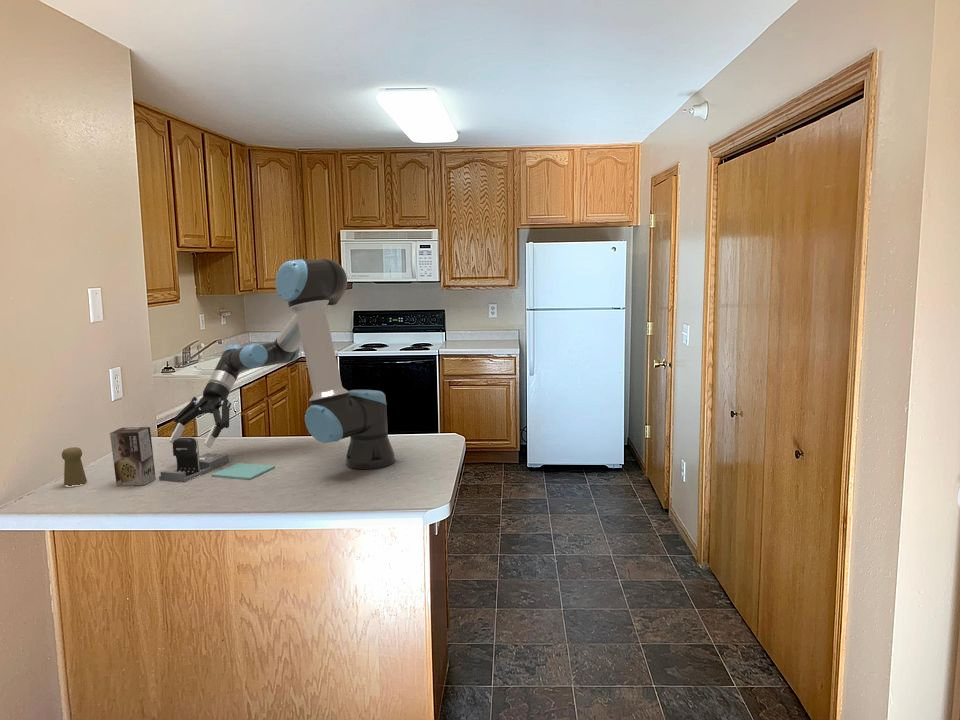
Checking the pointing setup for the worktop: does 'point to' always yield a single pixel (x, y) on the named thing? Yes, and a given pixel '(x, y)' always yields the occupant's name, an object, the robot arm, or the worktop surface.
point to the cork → (73, 467)
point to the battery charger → (186, 455)
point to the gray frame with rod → (206, 463)
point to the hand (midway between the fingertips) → (189, 444)
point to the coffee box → (133, 456)
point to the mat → (243, 471)
